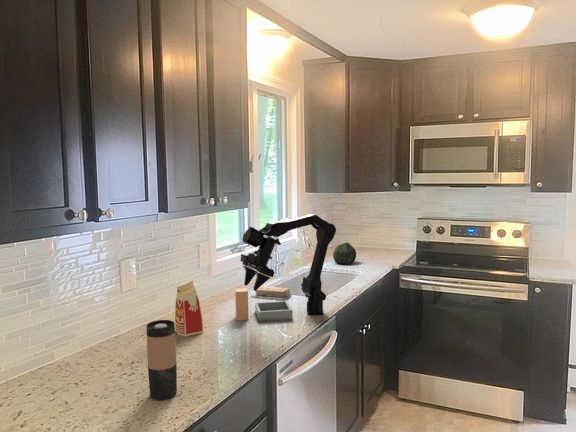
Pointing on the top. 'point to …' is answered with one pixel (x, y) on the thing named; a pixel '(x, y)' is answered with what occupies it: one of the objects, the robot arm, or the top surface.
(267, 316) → the tray
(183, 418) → the top surface
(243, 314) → the peach block
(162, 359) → the travel mug
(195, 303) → the red food bag
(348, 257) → the squash
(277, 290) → the packaged product
